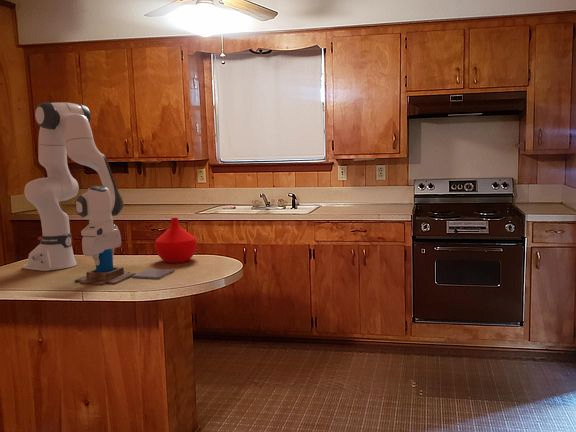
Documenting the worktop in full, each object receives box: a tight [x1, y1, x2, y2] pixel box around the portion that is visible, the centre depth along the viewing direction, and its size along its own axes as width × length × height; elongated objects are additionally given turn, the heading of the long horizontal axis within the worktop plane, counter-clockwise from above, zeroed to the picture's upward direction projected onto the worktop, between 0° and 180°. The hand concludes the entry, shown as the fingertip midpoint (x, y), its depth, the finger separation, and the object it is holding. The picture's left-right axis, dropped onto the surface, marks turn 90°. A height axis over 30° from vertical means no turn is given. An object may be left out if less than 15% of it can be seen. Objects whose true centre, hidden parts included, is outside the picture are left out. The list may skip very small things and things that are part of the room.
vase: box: [154, 217, 198, 264], centre depth 249 cm, size 18×18×19 cm
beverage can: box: [95, 247, 114, 273], centre depth 221 cm, size 6×6×12 cm
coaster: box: [131, 268, 175, 280], centre depth 226 cm, size 12×12×1 cm
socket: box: [74, 266, 137, 286], centre depth 222 cm, size 18×18×4 cm
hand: (104, 262), depth 221 cm, fingers closed on beverage can, 6 cm apart
